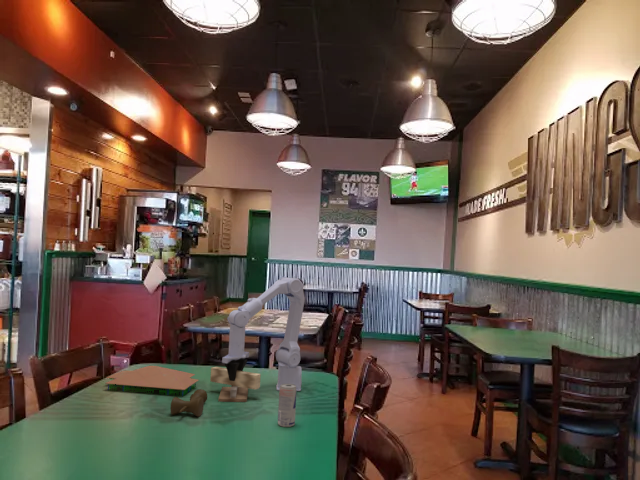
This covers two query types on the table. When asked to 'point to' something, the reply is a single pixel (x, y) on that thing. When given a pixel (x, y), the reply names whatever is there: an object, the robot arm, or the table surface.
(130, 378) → the brown flat slab
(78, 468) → the table surface
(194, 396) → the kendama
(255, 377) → the maple bar
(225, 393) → the ridge stand
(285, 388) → the energy drink
